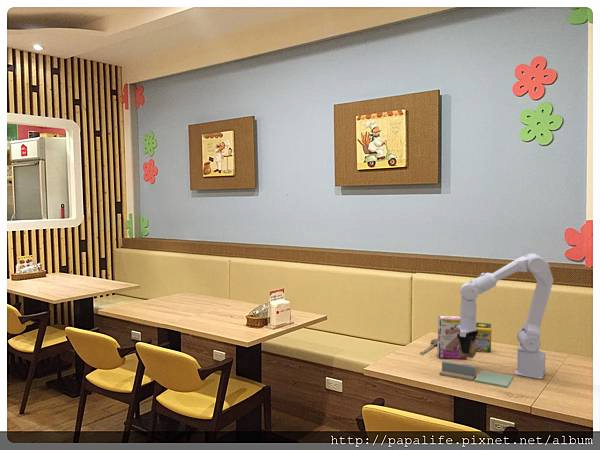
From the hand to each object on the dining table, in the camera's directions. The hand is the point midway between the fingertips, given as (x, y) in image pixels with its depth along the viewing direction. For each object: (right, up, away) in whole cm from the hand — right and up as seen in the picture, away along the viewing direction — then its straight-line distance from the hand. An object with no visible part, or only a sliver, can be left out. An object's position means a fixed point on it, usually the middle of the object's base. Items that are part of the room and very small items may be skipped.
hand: (467, 351), depth 202 cm
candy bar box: (-2, -6, +15) cm, 16 cm away
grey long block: (-6, -7, -7) cm, 11 cm away
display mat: (+6, -8, -10) cm, 14 cm away
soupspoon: (-7, -6, +27) cm, 29 cm away
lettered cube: (0, -2, 0) cm, 2 cm away
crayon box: (+13, -6, +23) cm, 28 cm away
